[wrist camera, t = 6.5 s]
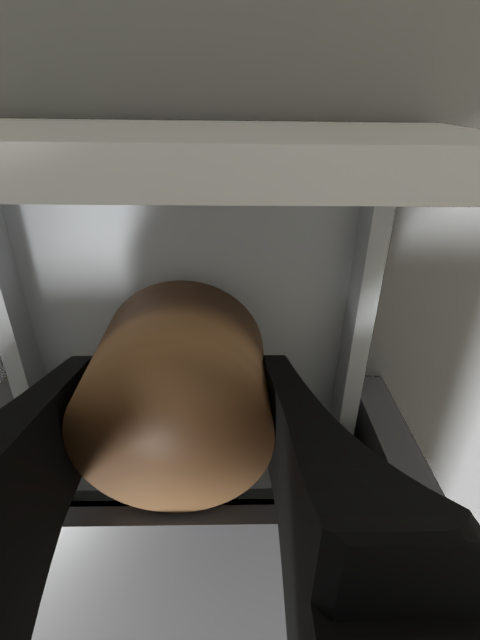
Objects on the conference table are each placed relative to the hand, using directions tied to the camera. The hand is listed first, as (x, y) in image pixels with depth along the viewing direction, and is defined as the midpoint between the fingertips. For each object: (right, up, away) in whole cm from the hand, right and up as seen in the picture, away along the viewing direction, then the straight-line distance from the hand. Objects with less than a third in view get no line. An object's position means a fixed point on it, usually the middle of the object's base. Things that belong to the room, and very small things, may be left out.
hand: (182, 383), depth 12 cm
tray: (0, +2, +3) cm, 3 cm away
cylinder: (0, +1, +1) cm, 2 cm away
